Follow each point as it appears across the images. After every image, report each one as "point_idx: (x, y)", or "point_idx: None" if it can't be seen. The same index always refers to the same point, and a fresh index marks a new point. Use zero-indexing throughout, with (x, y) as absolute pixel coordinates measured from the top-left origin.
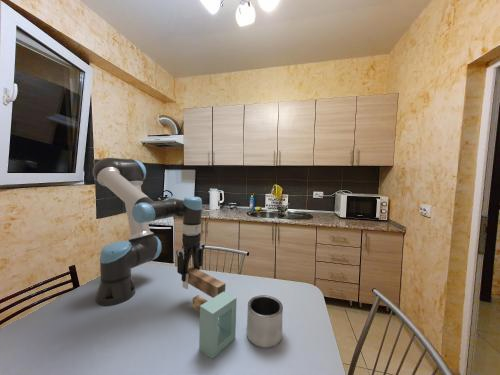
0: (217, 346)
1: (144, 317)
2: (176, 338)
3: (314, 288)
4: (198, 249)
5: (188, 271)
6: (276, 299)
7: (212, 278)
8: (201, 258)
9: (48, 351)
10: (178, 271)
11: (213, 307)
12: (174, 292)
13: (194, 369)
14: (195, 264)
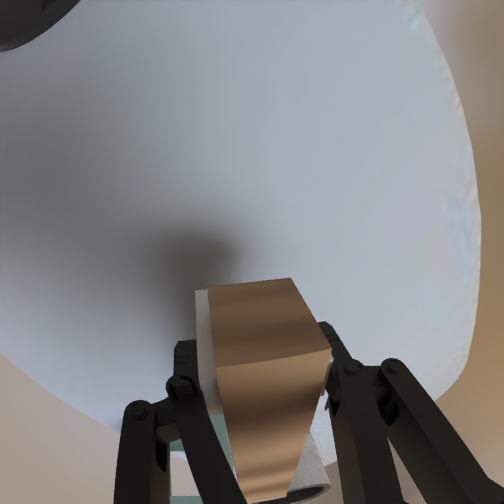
0: (170, 450)
1: (36, 214)
2: (105, 372)
3: (450, 386)
4: (461, 498)
5: (230, 425)
6: (324, 492)
7: (281, 482)
8: (404, 451)
9: None
10: (131, 426)
11: None
12: (227, 108)
13: (119, 431)
14: (336, 427)
